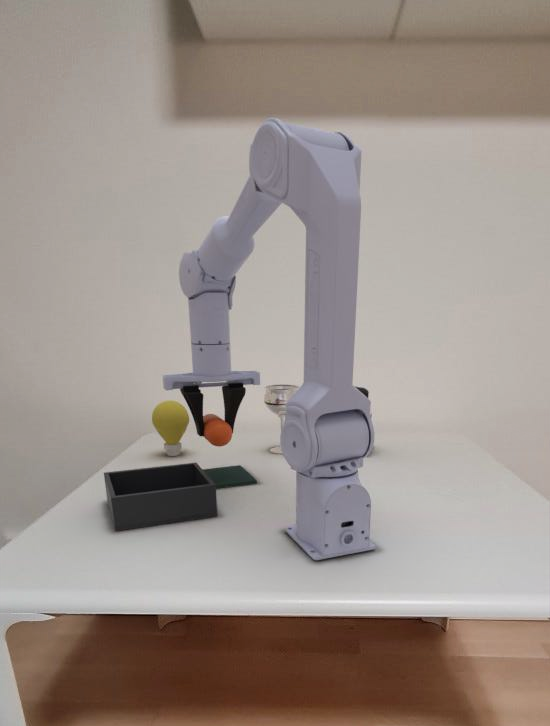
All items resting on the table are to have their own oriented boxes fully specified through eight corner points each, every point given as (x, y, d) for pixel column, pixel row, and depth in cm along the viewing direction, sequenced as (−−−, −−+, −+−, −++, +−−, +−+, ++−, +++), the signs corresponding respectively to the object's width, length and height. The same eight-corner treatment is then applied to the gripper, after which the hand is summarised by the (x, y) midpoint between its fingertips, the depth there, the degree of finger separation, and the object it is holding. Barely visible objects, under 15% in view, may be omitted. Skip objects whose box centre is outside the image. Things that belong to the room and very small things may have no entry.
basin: (217, 516, 73) (215, 484, 72) (115, 531, 68) (110, 497, 67) (198, 490, 83) (196, 462, 81) (107, 502, 78) (103, 472, 76)
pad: (257, 483, 86) (257, 480, 86) (194, 491, 82) (194, 488, 82) (240, 467, 94) (240, 465, 94) (182, 474, 90) (182, 471, 90)
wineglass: (294, 456, 101) (294, 390, 97) (260, 453, 103) (258, 389, 98) (304, 447, 107) (304, 385, 103) (271, 444, 109) (270, 383, 104)
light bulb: (164, 448, 105) (160, 397, 102) (197, 450, 104) (193, 398, 101) (148, 458, 99) (143, 403, 96) (183, 460, 98) (179, 404, 94)
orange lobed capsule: (236, 447, 82) (235, 421, 81) (210, 450, 81) (208, 424, 79) (220, 434, 90) (219, 410, 89) (196, 437, 89) (194, 412, 87)
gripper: (249, 340, 86) (251, 424, 91) (156, 342, 81) (164, 432, 86) (264, 343, 80) (265, 433, 85) (164, 346, 75) (172, 442, 80)
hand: (215, 433), depth 85 cm, fingers closed on orange lobed capsule, 4 cm apart
